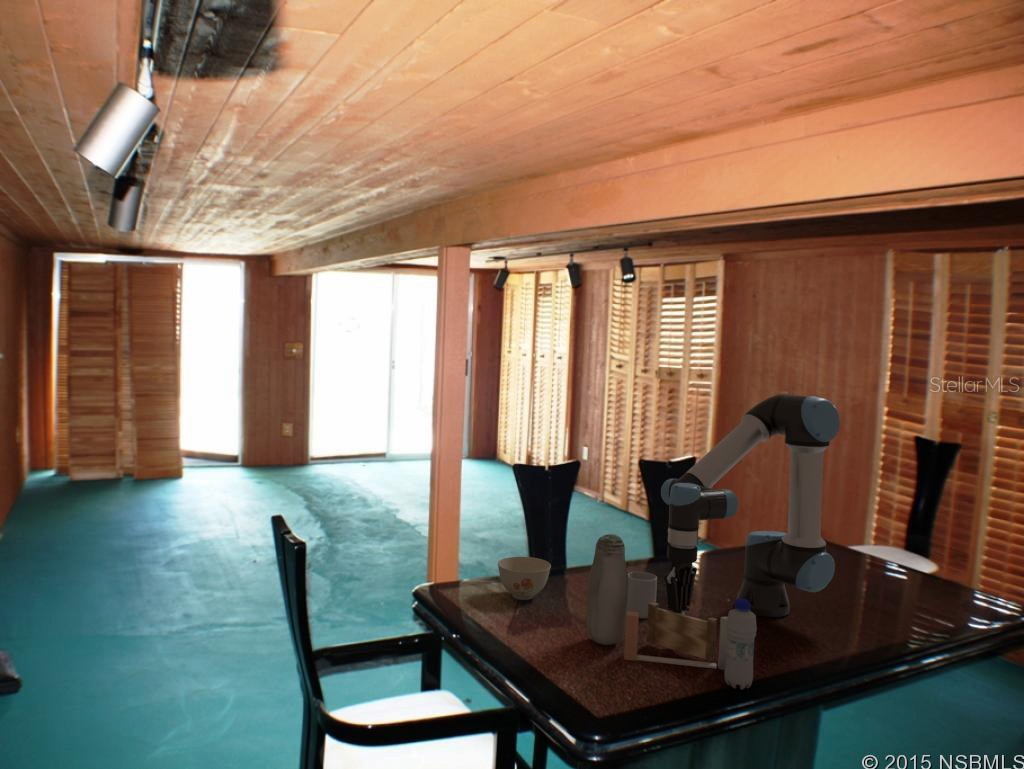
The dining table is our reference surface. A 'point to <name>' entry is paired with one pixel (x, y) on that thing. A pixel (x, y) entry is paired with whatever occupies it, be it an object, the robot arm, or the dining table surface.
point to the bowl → (523, 576)
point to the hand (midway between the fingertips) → (677, 635)
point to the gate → (681, 632)
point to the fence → (631, 654)
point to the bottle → (740, 645)
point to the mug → (641, 592)
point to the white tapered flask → (607, 591)
